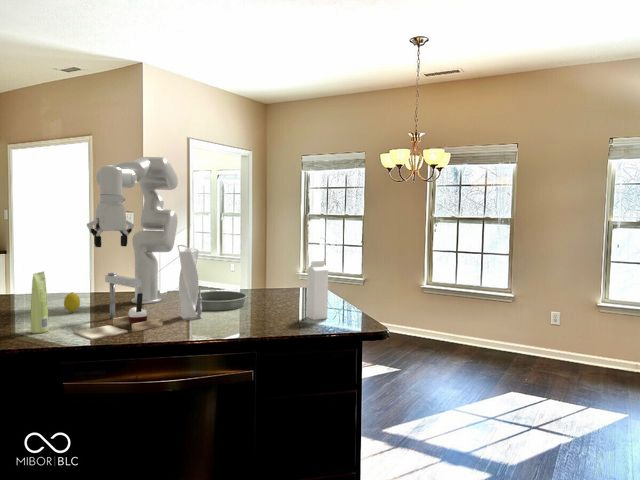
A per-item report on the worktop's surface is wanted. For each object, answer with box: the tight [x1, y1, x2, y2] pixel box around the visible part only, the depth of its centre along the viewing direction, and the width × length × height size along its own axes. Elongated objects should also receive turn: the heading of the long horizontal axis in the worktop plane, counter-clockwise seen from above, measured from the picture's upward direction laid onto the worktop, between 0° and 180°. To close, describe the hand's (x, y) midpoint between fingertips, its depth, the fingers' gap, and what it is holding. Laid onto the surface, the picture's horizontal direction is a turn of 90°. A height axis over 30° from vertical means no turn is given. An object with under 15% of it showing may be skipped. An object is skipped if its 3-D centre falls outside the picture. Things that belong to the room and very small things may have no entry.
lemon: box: [63, 291, 81, 313], centre depth 179 cm, size 6×6×8 cm
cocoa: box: [127, 293, 148, 326], centre depth 159 cm, size 10×6×12 cm, turn 8°
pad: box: [72, 324, 129, 341], centre depth 149 cm, size 12×12×1 cm
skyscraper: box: [177, 244, 203, 321], centre depth 174 cm, size 8×8×28 cm
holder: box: [112, 315, 163, 332], centre depth 160 cm, size 11×13×2 cm
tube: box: [30, 271, 49, 334], centre depth 149 cm, size 6×5×20 cm
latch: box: [104, 272, 141, 320], centre depth 165 cm, size 20×3×17 cm, turn 53°
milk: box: [306, 260, 329, 321], centre depth 177 cm, size 6×6×22 cm
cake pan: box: [196, 290, 248, 311], centre depth 199 cm, size 25×25×4 cm
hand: (111, 246), depth 169 cm, fingers open, 9 cm apart
